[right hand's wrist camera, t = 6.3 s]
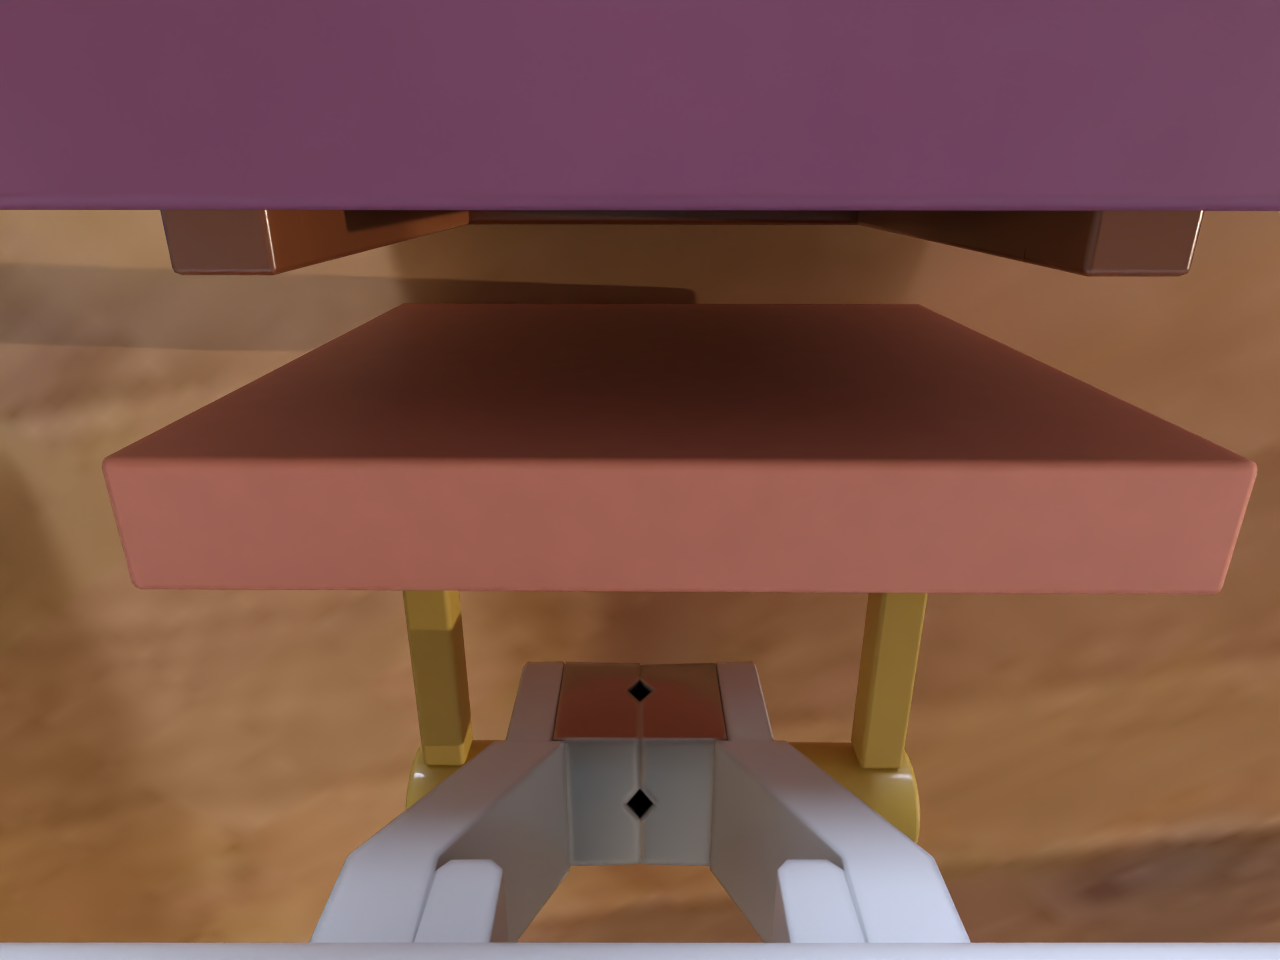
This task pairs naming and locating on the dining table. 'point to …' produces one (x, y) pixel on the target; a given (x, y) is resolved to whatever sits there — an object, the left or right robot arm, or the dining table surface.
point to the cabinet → (640, 105)
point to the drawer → (679, 456)
